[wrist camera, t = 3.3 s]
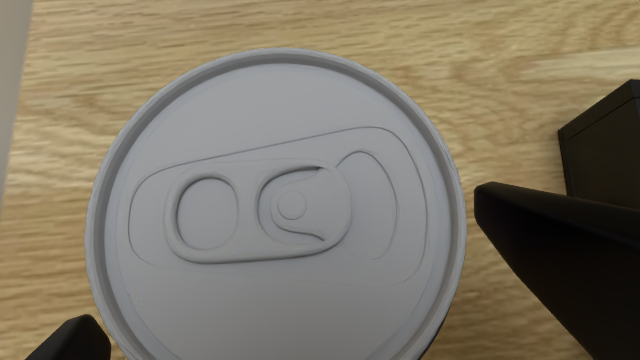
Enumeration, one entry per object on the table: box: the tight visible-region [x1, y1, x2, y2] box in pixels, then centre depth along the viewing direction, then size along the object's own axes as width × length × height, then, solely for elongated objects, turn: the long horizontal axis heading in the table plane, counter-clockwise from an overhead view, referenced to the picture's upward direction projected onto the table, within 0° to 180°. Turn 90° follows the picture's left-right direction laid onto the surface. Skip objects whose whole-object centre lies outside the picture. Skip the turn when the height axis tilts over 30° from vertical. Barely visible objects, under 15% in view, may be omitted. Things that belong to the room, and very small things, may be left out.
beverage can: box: [84, 47, 467, 360], centre depth 10 cm, size 6×6×12 cm
